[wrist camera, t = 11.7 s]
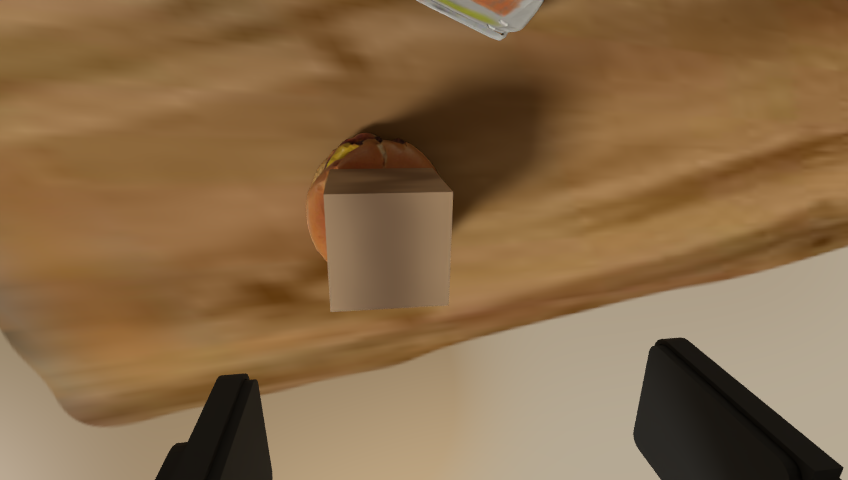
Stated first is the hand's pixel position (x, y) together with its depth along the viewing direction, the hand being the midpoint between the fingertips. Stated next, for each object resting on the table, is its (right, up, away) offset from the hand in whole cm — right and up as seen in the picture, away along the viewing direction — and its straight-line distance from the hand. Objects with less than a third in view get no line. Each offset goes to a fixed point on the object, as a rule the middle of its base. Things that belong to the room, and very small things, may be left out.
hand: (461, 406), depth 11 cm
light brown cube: (-3, +5, +17) cm, 18 cm away
